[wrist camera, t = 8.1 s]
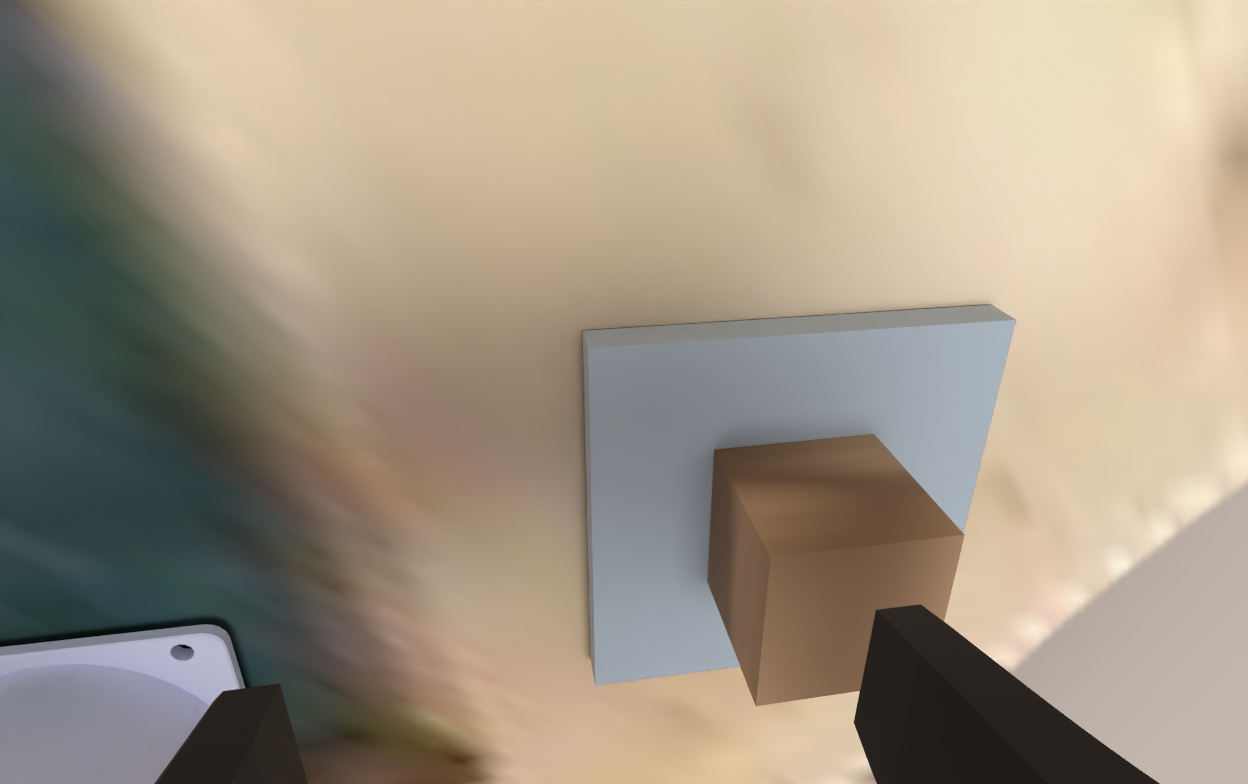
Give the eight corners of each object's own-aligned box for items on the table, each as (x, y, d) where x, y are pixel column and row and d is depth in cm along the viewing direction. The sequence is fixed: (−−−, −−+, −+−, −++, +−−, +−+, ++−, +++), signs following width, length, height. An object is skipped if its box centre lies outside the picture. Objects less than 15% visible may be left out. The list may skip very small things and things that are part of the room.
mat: (590, 657, 22) (595, 685, 21) (582, 330, 18) (587, 348, 17) (919, 616, 24) (936, 640, 23) (991, 304, 19) (1016, 320, 18)
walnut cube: (707, 582, 20) (755, 706, 17) (714, 449, 18) (770, 557, 15) (853, 563, 21) (929, 680, 17) (873, 433, 19) (964, 534, 15)
